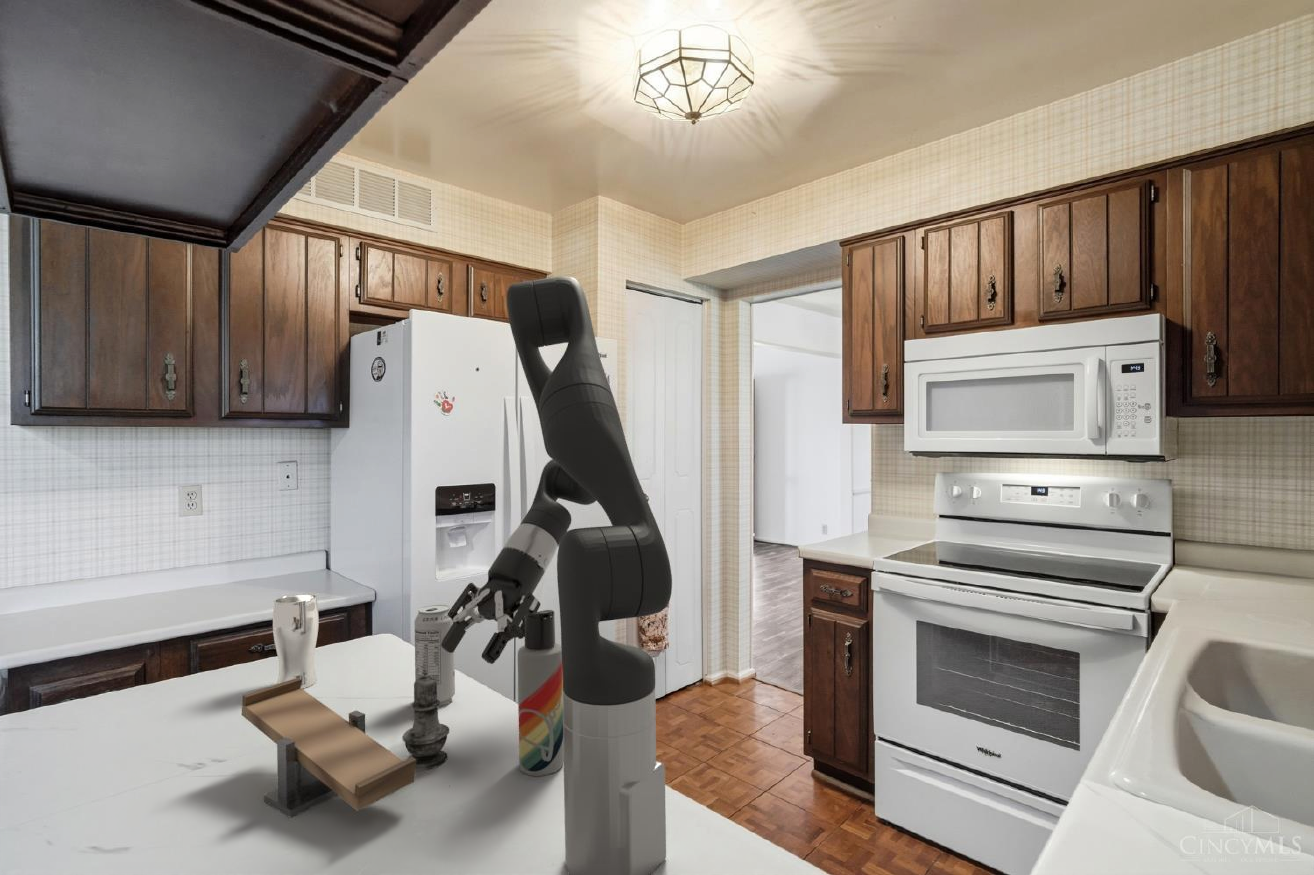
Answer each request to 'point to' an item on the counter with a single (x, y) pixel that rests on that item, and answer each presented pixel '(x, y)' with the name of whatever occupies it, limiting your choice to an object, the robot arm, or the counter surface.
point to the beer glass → (296, 637)
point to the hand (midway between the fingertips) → (465, 655)
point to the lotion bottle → (540, 697)
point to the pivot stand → (300, 778)
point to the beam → (328, 744)
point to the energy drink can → (435, 650)
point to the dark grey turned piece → (426, 726)
